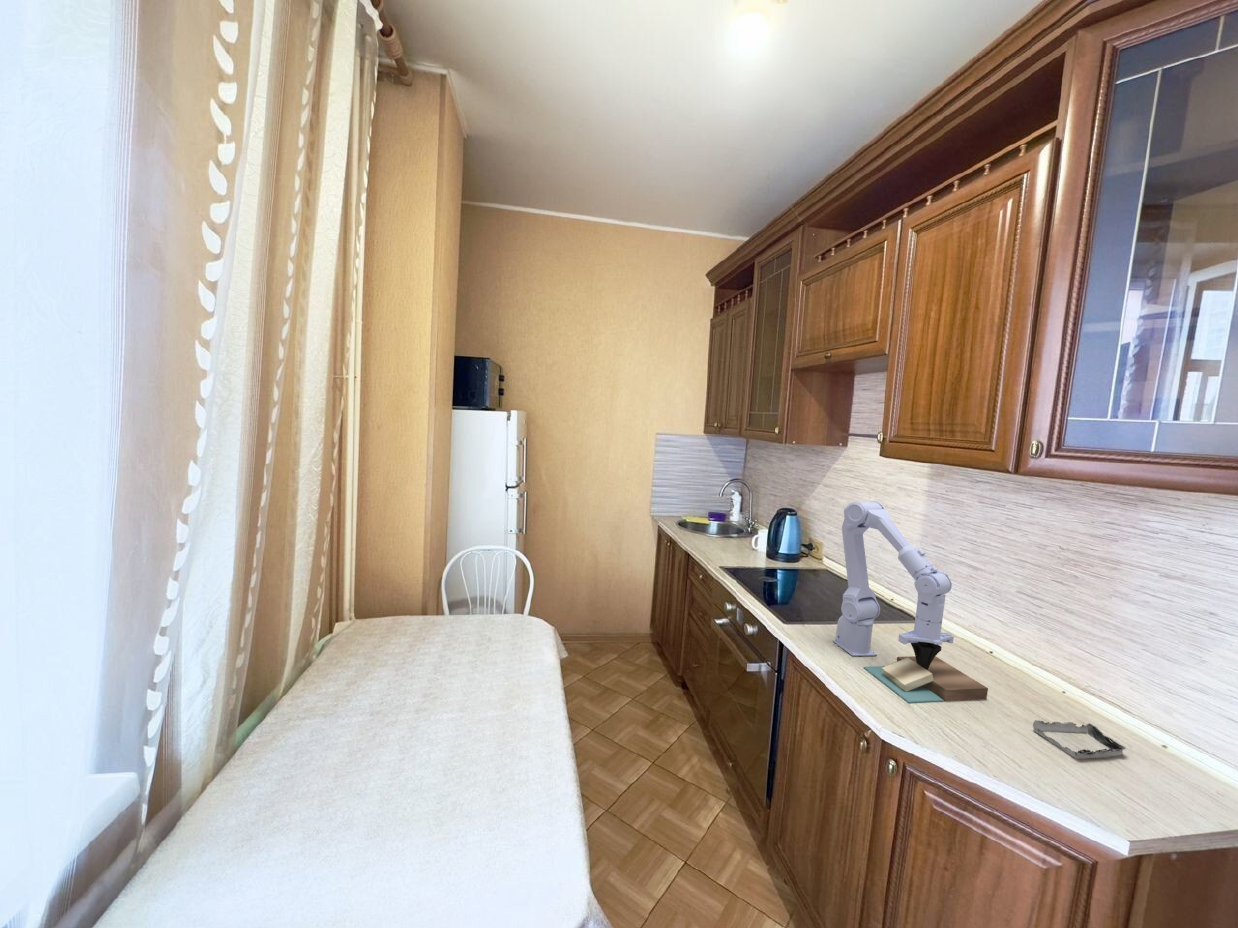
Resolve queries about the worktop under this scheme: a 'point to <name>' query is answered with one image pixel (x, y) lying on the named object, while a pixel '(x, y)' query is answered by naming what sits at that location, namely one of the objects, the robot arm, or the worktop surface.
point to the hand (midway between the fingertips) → (922, 668)
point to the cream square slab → (907, 674)
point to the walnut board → (952, 682)
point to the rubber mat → (912, 696)
